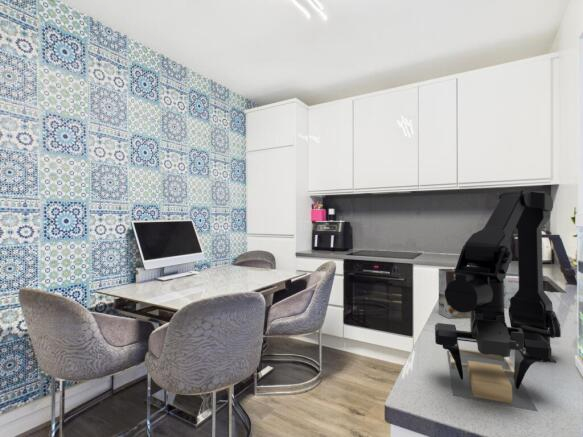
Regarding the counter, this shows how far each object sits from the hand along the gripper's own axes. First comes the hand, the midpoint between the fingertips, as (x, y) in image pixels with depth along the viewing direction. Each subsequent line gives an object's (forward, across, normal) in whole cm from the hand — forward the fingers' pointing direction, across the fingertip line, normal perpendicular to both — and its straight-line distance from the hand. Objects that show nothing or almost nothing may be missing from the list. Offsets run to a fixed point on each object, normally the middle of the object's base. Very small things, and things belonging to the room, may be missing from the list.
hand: (488, 383), depth 61 cm
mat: (+1, 0, +6) cm, 6 cm away
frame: (+1, 0, +11) cm, 11 cm away
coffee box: (+2, -2, +52) cm, 52 cm away
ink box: (+2, +20, +70) cm, 72 cm away
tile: (+1, 0, 0) cm, 1 cm away
